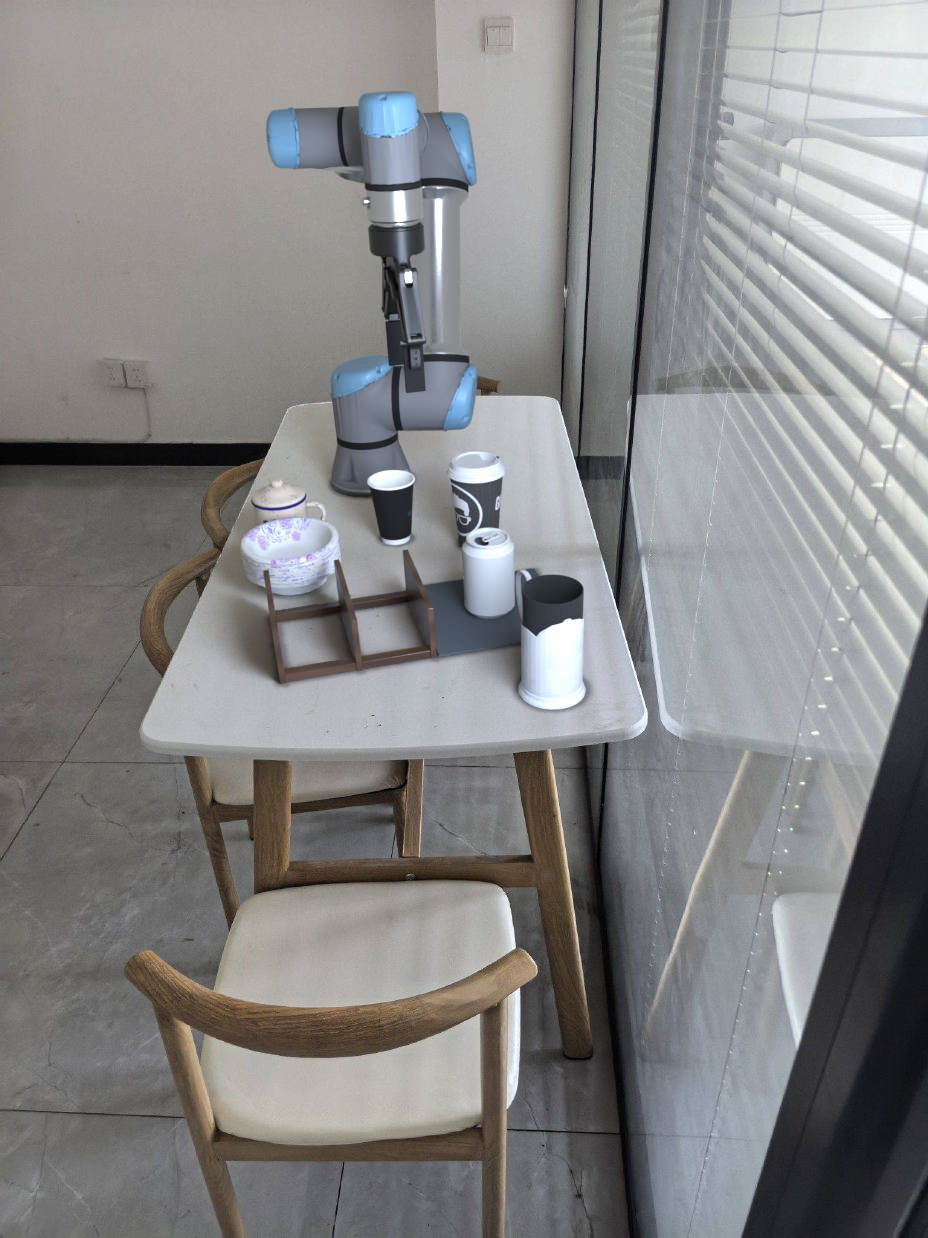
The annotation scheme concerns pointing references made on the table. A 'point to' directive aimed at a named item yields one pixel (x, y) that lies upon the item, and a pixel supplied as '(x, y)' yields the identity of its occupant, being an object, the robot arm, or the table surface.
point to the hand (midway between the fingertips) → (406, 377)
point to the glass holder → (551, 640)
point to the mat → (470, 621)
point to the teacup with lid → (281, 502)
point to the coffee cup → (476, 490)
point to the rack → (346, 607)
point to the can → (488, 573)
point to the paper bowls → (291, 554)
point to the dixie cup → (393, 504)
